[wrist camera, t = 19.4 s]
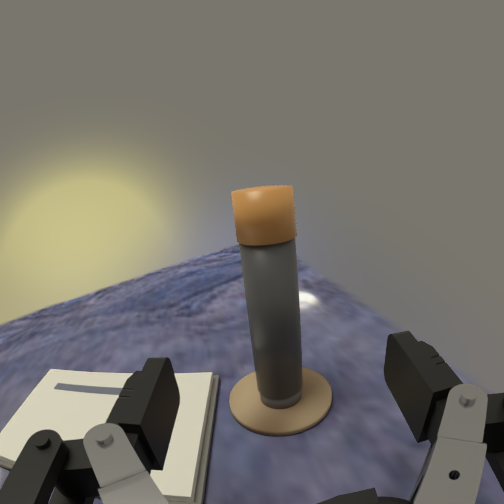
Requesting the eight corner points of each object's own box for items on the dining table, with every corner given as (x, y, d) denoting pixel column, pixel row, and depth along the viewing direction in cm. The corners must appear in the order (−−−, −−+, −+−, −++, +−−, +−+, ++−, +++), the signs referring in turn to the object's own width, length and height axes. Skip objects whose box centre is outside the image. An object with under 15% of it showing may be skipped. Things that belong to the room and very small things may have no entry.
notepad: (-11, 461, 13) (-19, 451, 12) (53, 375, 24) (49, 365, 24) (202, 511, 12) (197, 502, 12) (219, 379, 24) (217, 368, 23)
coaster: (227, 439, 18) (226, 434, 17) (232, 374, 24) (232, 369, 24) (340, 428, 17) (341, 422, 17) (322, 365, 24) (322, 360, 24)
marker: (257, 413, 19) (228, 195, 15) (257, 383, 22) (233, 189, 18) (307, 408, 19) (296, 188, 15) (301, 378, 22) (289, 183, 18)
